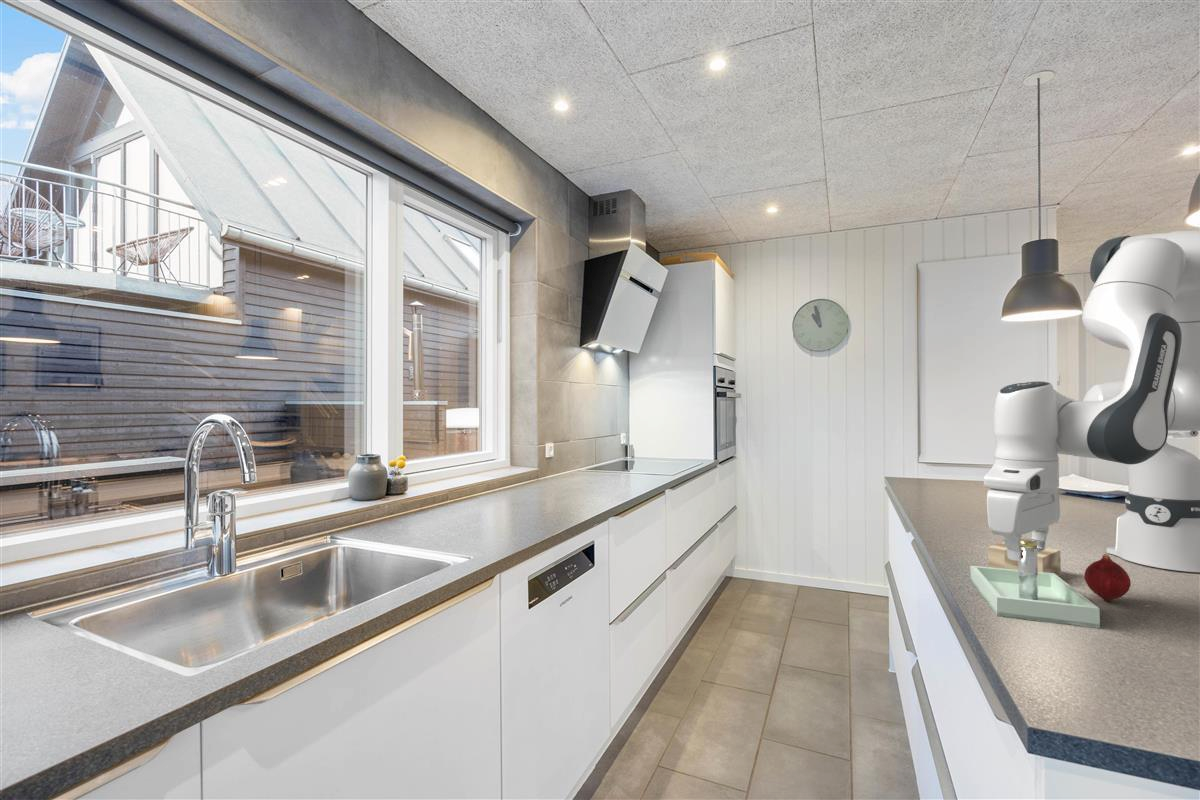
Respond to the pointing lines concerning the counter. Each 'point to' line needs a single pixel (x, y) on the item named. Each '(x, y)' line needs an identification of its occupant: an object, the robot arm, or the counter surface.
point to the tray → (1051, 606)
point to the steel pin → (1028, 570)
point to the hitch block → (998, 559)
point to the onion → (1107, 579)
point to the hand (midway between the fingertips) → (1026, 554)
